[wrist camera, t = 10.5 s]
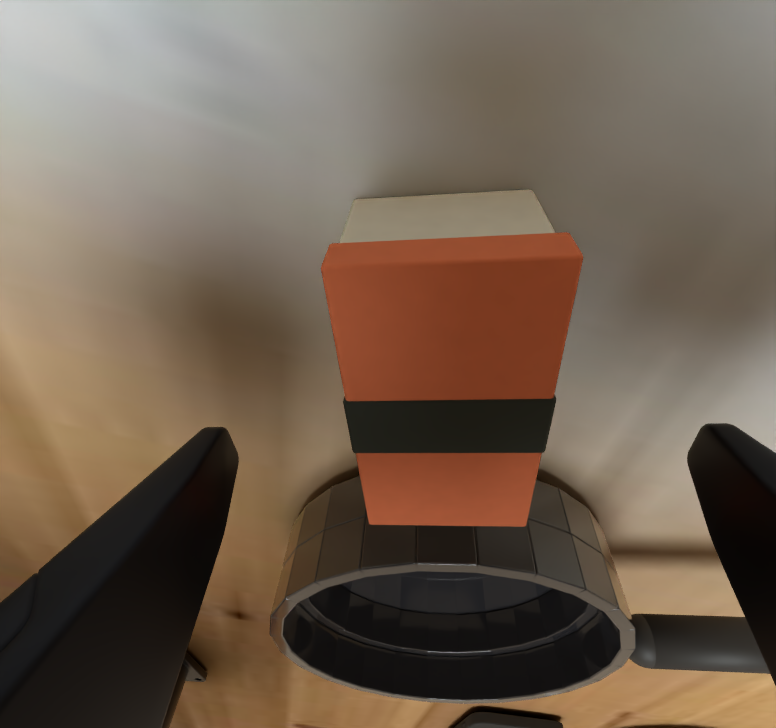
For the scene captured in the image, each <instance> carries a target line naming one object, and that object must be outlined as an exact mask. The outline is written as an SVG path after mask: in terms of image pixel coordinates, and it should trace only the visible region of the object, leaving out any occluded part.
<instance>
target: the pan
mask: <svg viewBox="0 0 776 728" xmlns="http://www.w3.org/2000/svg"><path fill="white" fill-rule="evenodd" d="M270 636H271V637H272V639H273V641H274V642H275V644H276V646H277V647H278V649H279V650H280V651H281V653H283V654H284V655H285V656H287V657H288V658H289V659H290V660H292V661H293V662H294V663H295V664H297V665H298V666H300V667H301V668H303V669H305V670H307V671H309V672H311V673H314V674H316V675H318V676H320V677H322V678H324V679H326V680H329V681H332V682H335V683H338V684H341V685H344V686H347V687H350V688H353V689H357V690H360V691H365V692H370V693H374V694H379V695H383V696H388V697H390V696H391V697H394V698H401V699H409V700H417V701H424V702H426V701H427V702H441V703H460V704H463V703H464V704H473V703H500V702H502V703H503V702H511V701H520V700H529V699H536V698H542V697H547V696H551V695H556V694H561V693H565V692H570V691H573V690H576V689H578V688H581V687H584V686H587V685H589V684H592V683H595V682H597V681H600V680H602V679H604V678H605V677H607V676H608V675H610V674H611V673H613V672H615V671H616V670H618V669H619V668H621V667H622V666H624V664H625V663H626V662H627V660H628V659H629V657H630V656H631V655H632V653H633V652H634V651H635V648H636V631H635V625H634V622H633V619H632V616H631V613H630V610H629V607H628V604H627V601H626V598H625V595H624V592H623V589H622V586H621V583H620V580H619V578H618V576H617V571H616V568H615V565H614V562H613V559H612V556H611V553H610V550H609V547H608V544H607V541H606V538H605V535H604V532H603V530H602V528H601V527H600V525H599V524H598V522H597V521H596V519H595V518H594V517H593V515H592V514H591V512H590V511H589V509H588V508H587V507H586V506H584V505H583V504H581V503H580V502H578V501H577V500H576V499H574V498H573V497H571V496H570V495H568V494H567V493H566V492H564V491H563V490H561V489H560V488H557V487H555V486H552V485H549V484H547V483H544V482H541V481H539V480H536V482H535V486H534V491H533V496H532V500H531V505H530V510H529V515H528V519H527V524H526V526H524V527H511V526H436V525H371V524H369V521H368V516H367V511H366V505H365V500H364V495H363V489H362V484H361V479H360V475H359V476H357V477H354V478H352V479H350V480H347V481H344V482H342V483H339V484H337V485H334V486H332V487H331V488H329V489H328V490H326V491H325V492H324V493H322V494H321V495H319V496H318V497H317V498H315V499H314V500H312V501H311V502H310V503H308V504H307V505H306V506H305V508H304V509H303V511H302V512H301V514H300V515H299V517H298V518H297V520H296V521H295V523H294V524H293V527H292V530H291V534H290V538H289V543H288V547H287V551H286V555H285V559H284V563H283V568H282V571H281V575H280V579H279V583H278V587H277V591H276V595H275V599H274V603H273V607H272V611H271V616H270Z"/></svg>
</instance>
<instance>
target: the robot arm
mask: <svg viewBox="0 0 776 728" xmlns="http://www.w3.org/2000/svg"><path fill="white" fill-rule="evenodd" d="M687 462H688V467H689V470H690V473H691V476H692V479H693V483H694V486H695V489H696V492H697V495H698V499H699V502H700V505H701V508H702V511H703V514H704V518H705V521H706V524H707V527H708V530H709V533H710V536H711V539H712V542H713V544H714V547H715V549H716V552H717V554H718V556H719V559H720V561H721V563H722V565H723V568H724V570H725V572H726V574H727V577H728V579H729V581H730V584H731V586H732V588H733V590H734V593H735V595H736V597H737V599H738V602H739V604H740V606H741V608H742V611H743V613H744V615H745V617H746V620H747V622H748V624H749V626H750V629H751V631H752V633H753V636H754V638H755V640H756V642H757V645H758V647H759V649H760V651H761V654H762V656H763V658H764V660H765V663H766V665H767V667H768V669H769V672H770V674H771V676H772V678H773V681H774V683H775V685H776V453H775V452H773V451H772V450H770V449H769V448H767V447H766V446H764V445H763V444H761V443H760V442H758V441H757V440H755V439H754V438H752V437H751V436H749V435H748V434H746V433H745V432H743V431H742V430H740V429H739V428H737V427H735V426H734V425H731V424H726V423H718V424H705V425H704V426H702V427H701V429H700V431H699V433H698V434H697V436H696V438H695V440H694V442H693V444H692V446H691V448H690V450H689V452H688V456H687ZM238 463H239V457H238V452H237V450H236V448H235V445H234V443H233V441H232V439H231V436H230V434H229V432H228V430H227V429H226V428H224V427H207V428H204V429H202V430H201V431H200V432H198V433H197V434H196V435H195V436H194V437H193V438H191V439H190V440H189V441H188V442H187V443H186V444H185V445H183V446H182V447H181V448H180V449H179V450H178V451H176V452H175V453H174V454H173V455H172V456H171V457H169V458H168V459H167V460H166V461H165V462H164V463H162V464H161V465H160V466H159V467H158V468H157V469H156V470H154V471H153V472H152V473H151V474H150V475H149V476H147V477H146V478H145V479H144V480H143V481H142V482H140V483H139V484H138V485H137V486H136V487H135V488H133V489H132V490H131V491H130V492H129V493H128V494H126V495H125V496H124V497H123V498H122V499H121V500H120V501H118V502H117V503H116V504H115V505H114V506H113V507H111V508H110V509H109V510H108V511H107V512H106V513H104V514H103V515H102V516H101V517H100V518H99V519H97V520H96V521H95V522H94V523H93V524H92V525H91V526H89V527H88V528H87V529H86V530H85V531H84V532H82V533H81V534H80V535H79V536H78V537H77V538H75V539H74V540H73V541H72V542H71V543H70V544H68V545H67V546H66V547H65V548H64V549H63V550H62V551H60V552H59V553H58V554H57V555H56V556H55V557H53V558H52V559H51V560H50V561H49V562H48V563H46V564H45V565H44V566H43V567H42V568H41V569H40V570H39V572H38V573H35V574H33V575H32V576H31V577H30V578H29V579H28V580H26V581H25V582H24V583H23V584H22V585H21V586H20V587H18V588H17V589H16V590H15V591H14V592H13V593H11V594H10V595H9V596H8V597H7V598H5V599H4V600H3V601H2V602H1V603H0V728H169V726H170V723H171V721H172V718H173V715H174V712H175V709H176V706H177V703H178V700H179V697H180V695H181V692H182V689H183V686H184V683H185V681H196V682H204V681H206V677H207V672H206V671H205V670H204V669H203V668H202V667H201V666H200V665H199V664H198V663H197V662H196V661H195V660H194V659H193V658H192V657H191V656H190V655H189V654H188V653H187V652H186V651H187V648H188V645H189V641H190V638H191V635H192V632H193V629H194V626H195V623H196V620H197V617H198V614H199V610H200V607H201V604H202V601H203V598H204V595H205V592H206V589H207V586H208V583H209V580H210V576H211V573H212V570H213V567H214V564H215V561H216V558H217V555H218V552H219V549H220V545H221V542H222V539H223V535H224V531H225V527H226V522H227V517H228V513H229V508H230V503H231V498H232V493H233V488H234V483H235V478H236V474H237V469H238Z"/></svg>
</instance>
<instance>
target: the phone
mask: <svg viewBox="0 0 776 728" xmlns="http://www.w3.org/2000/svg"><path fill="white" fill-rule="evenodd" d="M454 728H563V725H562V723H560V722H558V721H553V720H546V719H538V718H530V717H522V716H515V715H507V714H499V713H491V712H475V713H472V714H470V715H469V716H468V717H466V718H465V719H464V720H463V721H462V722H460V723H459V724H458V725H457V726H455V727H454Z"/></svg>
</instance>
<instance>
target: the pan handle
mask: <svg viewBox="0 0 776 728" xmlns="http://www.w3.org/2000/svg"><path fill="white" fill-rule="evenodd" d="M631 616H632V619H633V622H634V625H635V631H636V648H635V651H634V652H633V653H632V655H631V656H630V657H629V659H630V660H632V661H633V662H634V663H636V664H638V665H639V666H642V667H645V668H651V669H674V670H697V671H721V672H744V673H767V674H770V672H769V669H768V667H767V665H766V663H765V660H764V658H763V656H762V654H761V651H760V649H759V647H758V645H757V642H756V640H755V638H754V636H753V633H752V631H751V629H750V626H749V624H748V622H747V620H746V617H726V616H694V615H663V614H633V615H631Z"/></svg>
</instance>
